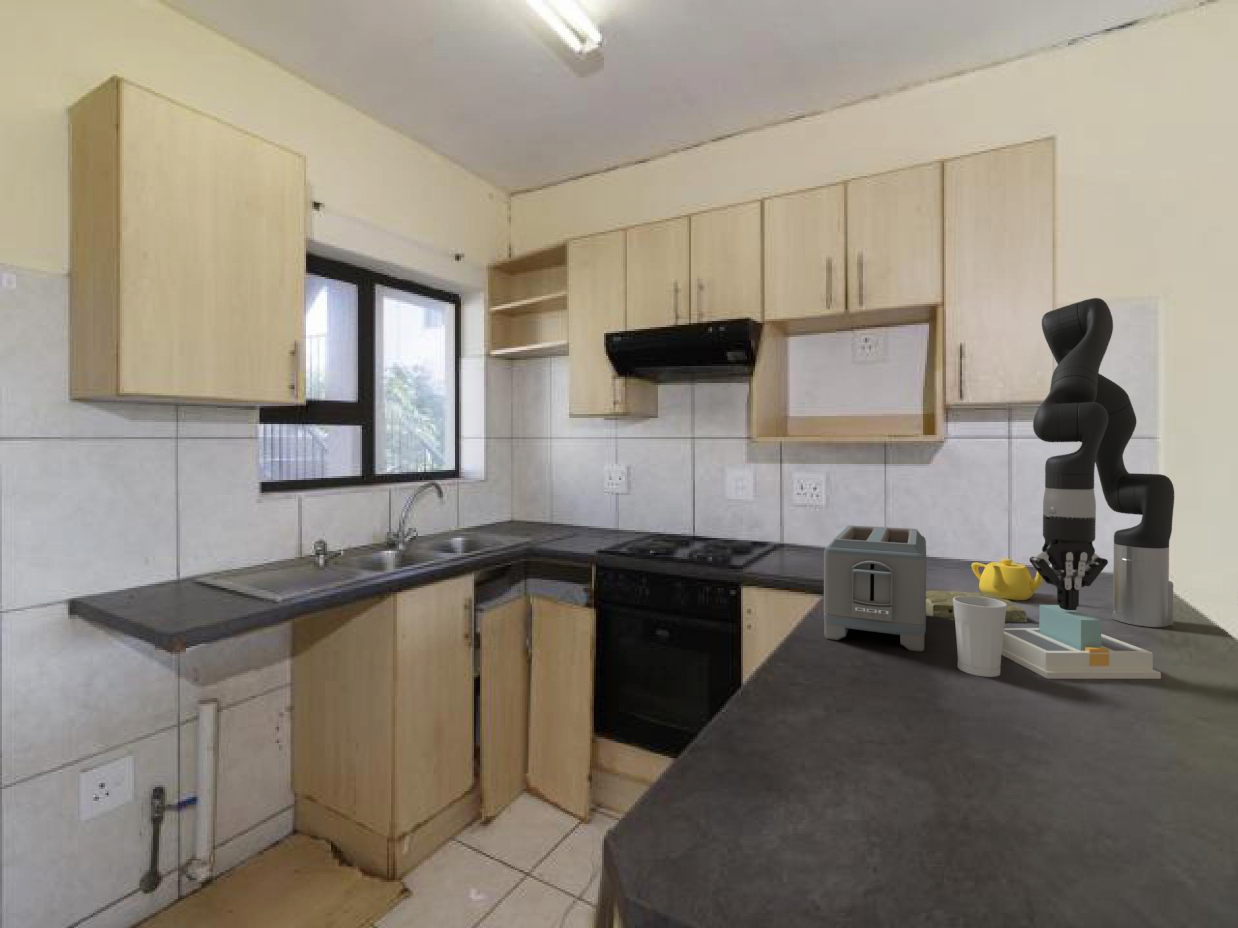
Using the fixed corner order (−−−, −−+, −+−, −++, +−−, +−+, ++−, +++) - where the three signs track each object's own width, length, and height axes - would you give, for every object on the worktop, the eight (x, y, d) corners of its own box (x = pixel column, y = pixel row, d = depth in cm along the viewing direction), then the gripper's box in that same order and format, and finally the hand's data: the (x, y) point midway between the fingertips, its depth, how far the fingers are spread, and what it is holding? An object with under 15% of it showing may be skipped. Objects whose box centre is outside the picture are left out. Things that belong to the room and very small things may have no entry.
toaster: (819, 644, 115) (820, 541, 115) (840, 605, 145) (841, 524, 144) (925, 659, 106) (926, 548, 106) (925, 615, 136) (925, 528, 136)
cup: (998, 664, 104) (999, 597, 103) (1012, 681, 96) (1013, 608, 96) (948, 659, 106) (948, 594, 106) (957, 675, 99) (958, 604, 98)
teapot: (994, 602, 148) (994, 563, 148) (967, 590, 161) (967, 554, 161) (1051, 603, 147) (1051, 564, 146) (1019, 591, 160) (1019, 555, 160)
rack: (1084, 646, 113) (1084, 623, 113) (1160, 678, 97) (1161, 651, 97) (986, 646, 113) (986, 623, 113) (1047, 678, 97) (1047, 651, 97)
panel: (1057, 646, 110) (1058, 604, 110) (1100, 666, 100) (1101, 619, 100) (1039, 646, 110) (1039, 604, 110) (1080, 665, 100) (1081, 619, 100)
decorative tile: (907, 600, 151) (907, 587, 151) (992, 604, 148) (992, 590, 148) (933, 620, 133) (933, 605, 133) (1030, 625, 129) (1030, 609, 129)
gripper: (1088, 511, 108) (1087, 604, 109) (1017, 511, 108) (1016, 603, 109) (1123, 515, 101) (1122, 615, 101) (1047, 515, 101) (1046, 614, 101)
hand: (1067, 609), depth 105 cm, fingers closed
